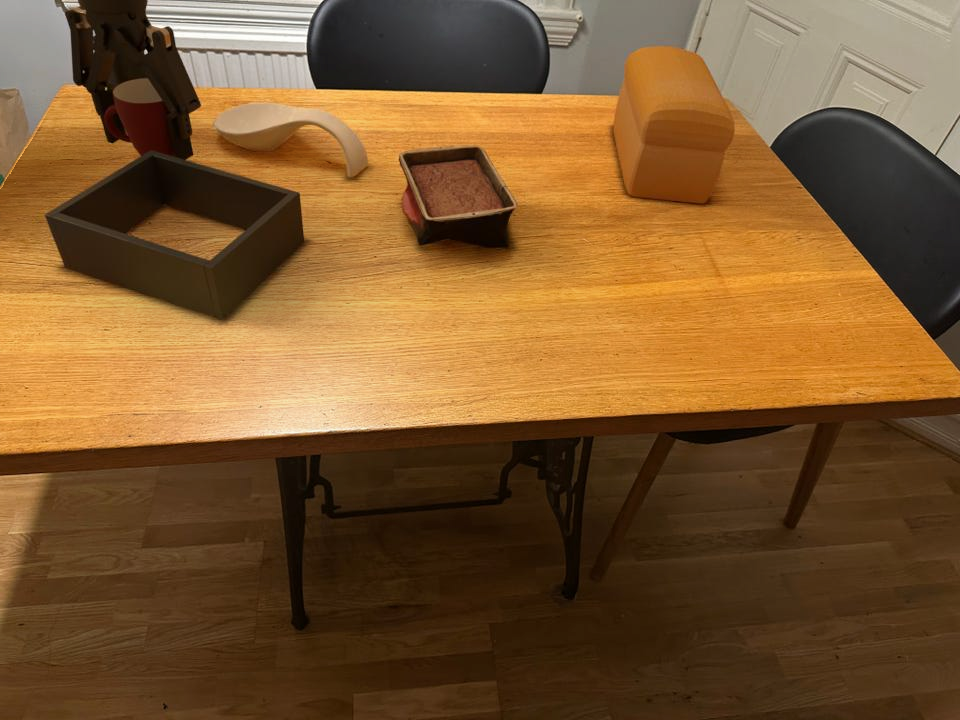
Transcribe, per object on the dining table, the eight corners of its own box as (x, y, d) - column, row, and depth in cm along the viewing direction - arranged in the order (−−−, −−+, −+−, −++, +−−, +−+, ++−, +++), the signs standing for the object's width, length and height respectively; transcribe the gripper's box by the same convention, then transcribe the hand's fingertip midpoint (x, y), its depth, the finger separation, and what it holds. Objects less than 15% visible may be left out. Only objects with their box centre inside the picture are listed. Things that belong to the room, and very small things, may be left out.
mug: (105, 173, 93) (82, 100, 86) (122, 145, 99) (102, 75, 92) (187, 176, 94) (171, 105, 88) (199, 149, 100) (185, 79, 93)
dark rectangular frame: (64, 267, 79) (43, 214, 75) (163, 199, 91) (150, 149, 87) (223, 320, 75) (212, 267, 71) (304, 241, 87) (300, 192, 83)
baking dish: (407, 274, 88) (417, 213, 80) (391, 183, 98) (398, 121, 91) (515, 275, 92) (534, 216, 84) (489, 187, 102) (504, 128, 94)
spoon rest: (200, 147, 102) (191, 99, 97) (250, 118, 110) (243, 72, 106) (340, 191, 97) (338, 142, 92) (381, 157, 105) (381, 111, 100)
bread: (710, 205, 104) (746, 107, 93) (625, 196, 103) (651, 97, 93) (683, 132, 121) (710, 43, 111) (610, 124, 121) (630, 34, 111)
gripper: (-1, -42, 80) (61, 139, 95) (168, -3, 75) (205, 181, 91) (50, -55, 85) (101, 119, 100) (210, -19, 81) (239, 157, 96)
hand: (150, 148), depth 95 cm, fingers closed on mug, 10 cm apart
